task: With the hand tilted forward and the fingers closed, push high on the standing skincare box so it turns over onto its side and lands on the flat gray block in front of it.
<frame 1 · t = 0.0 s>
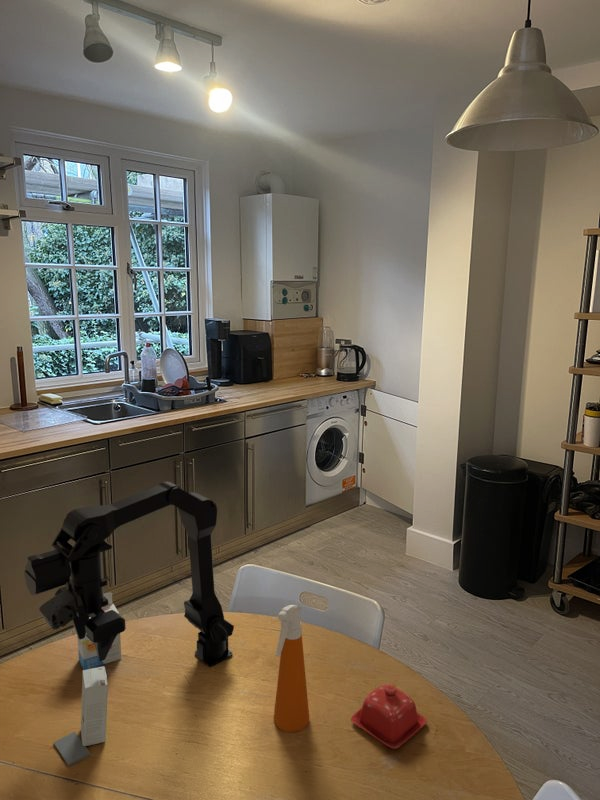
hand: (91, 649, 116), 15 cm above the table, tool pointing down, fingers open, 9 cm apart
flat gray block: (71, 749, 111), on the table
skincare box: (94, 735, 114), on the table, touching flat gray block
spray bottle: (287, 726, 117), on the table
ink box: (100, 660, 136), on the table
butter dish: (388, 726, 118), on the table
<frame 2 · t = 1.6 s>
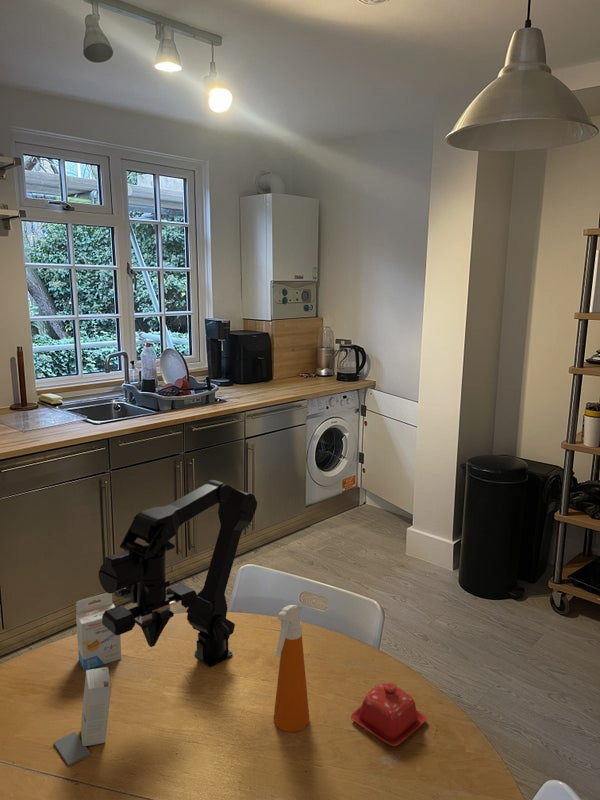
hand: (151, 645, 122), 12 cm above the table, tool pointing down, fingers closed
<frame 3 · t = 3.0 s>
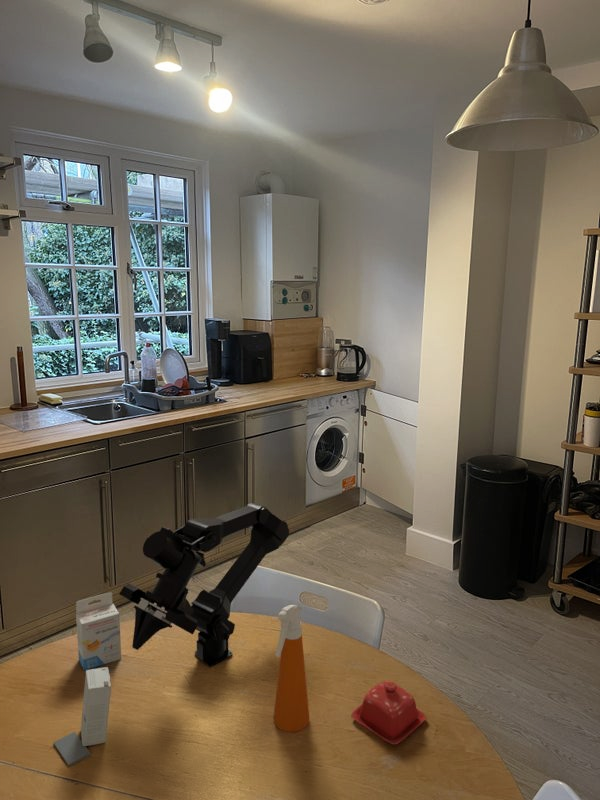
hand: (134, 648, 119), 13 cm above the table, tool tilted 45°, fingers closed
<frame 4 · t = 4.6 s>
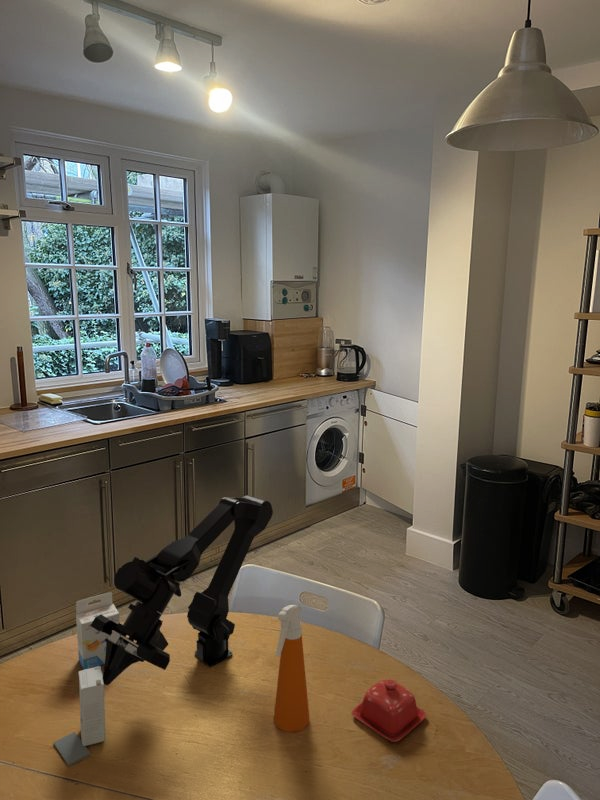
hand: (104, 684, 114), 9 cm above the table, tool tilted 45°, fingers closed
skincare box: (94, 734, 114), on the table, touching flat gray block
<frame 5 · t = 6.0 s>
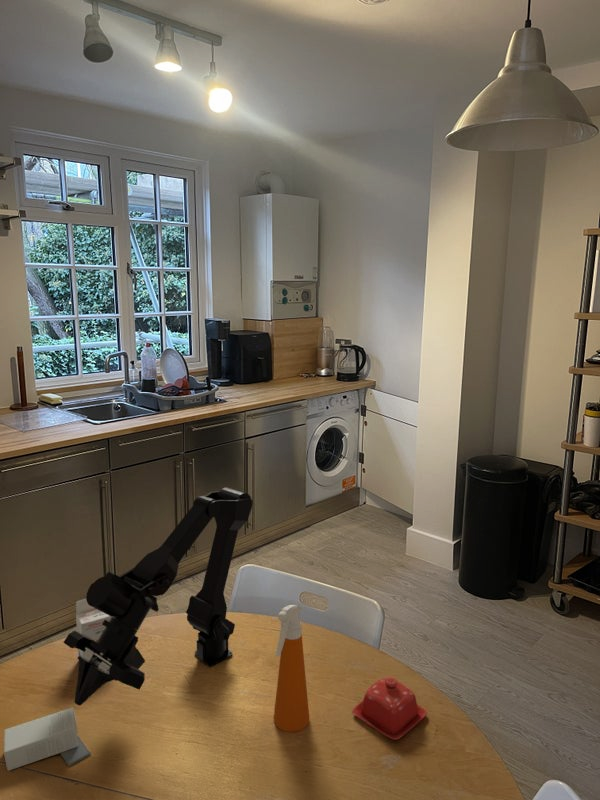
hand: (77, 704, 110), 9 cm above the table, tool tilted 45°, fingers closed
skincare box: (77, 725, 112), point 3 cm above the table, touching flat gray block
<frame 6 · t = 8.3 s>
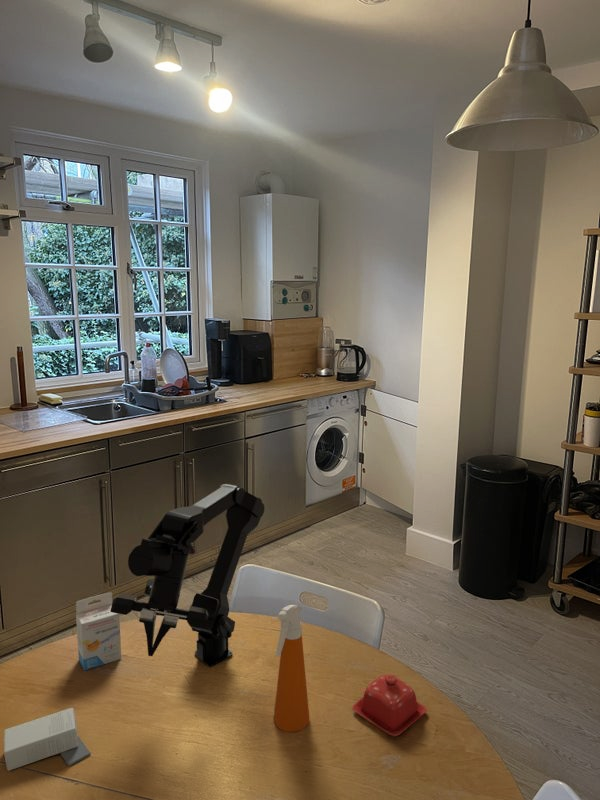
hand: (150, 655, 117), 13 cm above the table, tool tilted 25°, fingers closed
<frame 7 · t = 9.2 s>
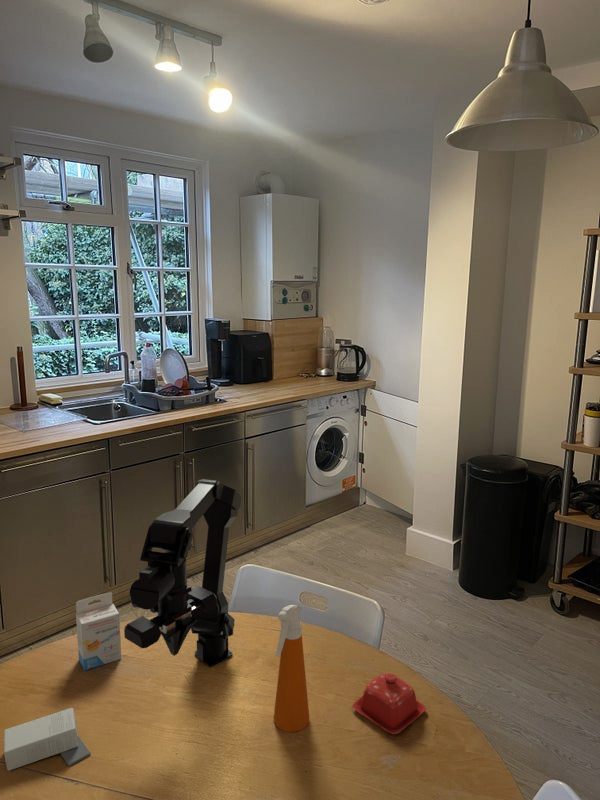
hand: (174, 654, 118), 13 cm above the table, tool pointing down, fingers closed
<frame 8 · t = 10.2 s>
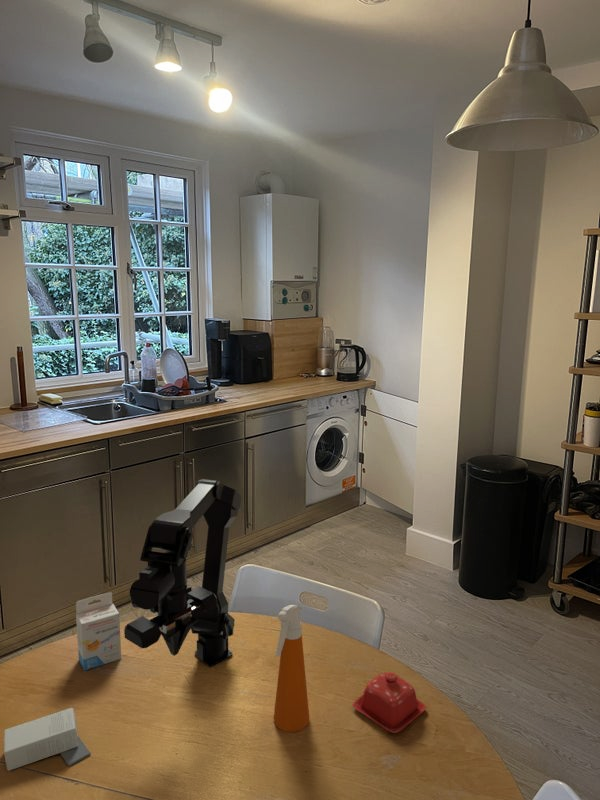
hand: (174, 654, 118), 13 cm above the table, tool pointing down, fingers closed
at the end: skincare box tilted 95°; skincare box inside the target area (2.9 cm from its centre), point 2.9 cm above the table; the gripper is holding nothing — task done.
